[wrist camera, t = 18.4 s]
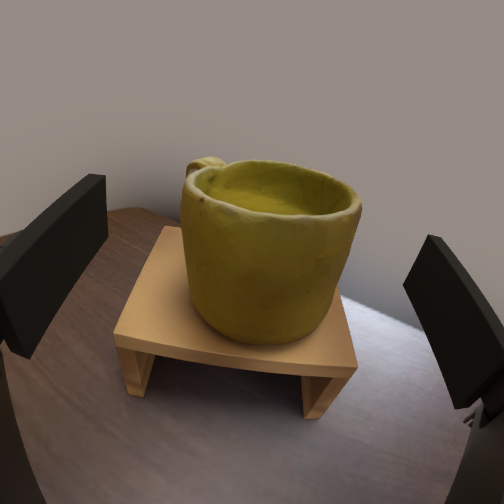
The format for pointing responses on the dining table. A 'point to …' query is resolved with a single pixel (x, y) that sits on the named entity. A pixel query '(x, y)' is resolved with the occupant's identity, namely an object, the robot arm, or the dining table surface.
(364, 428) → the dining table surface
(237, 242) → the mug
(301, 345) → the shelf
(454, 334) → the robot arm
